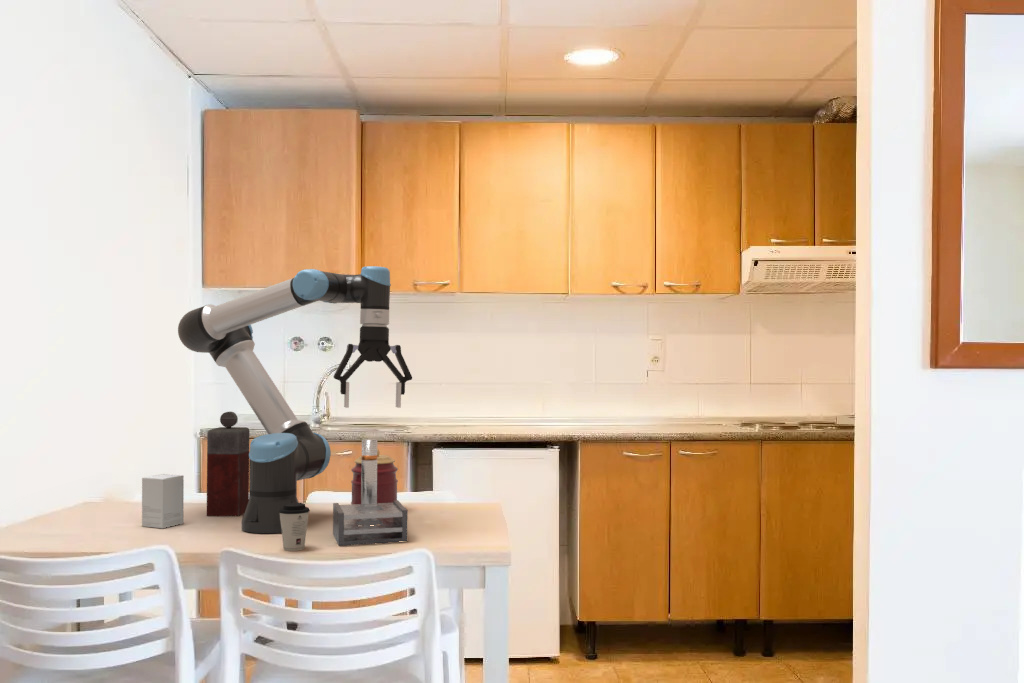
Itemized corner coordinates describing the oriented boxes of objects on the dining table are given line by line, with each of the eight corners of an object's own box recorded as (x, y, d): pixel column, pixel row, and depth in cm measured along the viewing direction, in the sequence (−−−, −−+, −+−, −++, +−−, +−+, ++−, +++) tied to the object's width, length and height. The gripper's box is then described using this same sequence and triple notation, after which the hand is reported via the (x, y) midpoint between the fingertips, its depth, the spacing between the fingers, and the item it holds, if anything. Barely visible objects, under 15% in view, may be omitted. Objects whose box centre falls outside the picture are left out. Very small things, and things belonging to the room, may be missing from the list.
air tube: (361, 526, 225) (362, 440, 225) (360, 523, 229) (360, 439, 229) (377, 525, 226) (378, 440, 226) (375, 522, 230) (376, 438, 230)
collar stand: (338, 545, 202) (338, 513, 203) (332, 533, 216) (333, 503, 216) (407, 542, 207) (407, 510, 207) (397, 530, 220) (397, 500, 221)
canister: (383, 505, 256) (383, 444, 256) (406, 512, 246) (406, 448, 246) (342, 510, 248) (343, 447, 248) (364, 517, 238) (365, 452, 238)
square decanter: (251, 508, 249) (252, 410, 249) (239, 516, 238) (239, 412, 238) (220, 508, 249) (221, 409, 249) (206, 516, 238) (207, 412, 238)
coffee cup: (307, 551, 196) (307, 507, 197) (275, 552, 196) (275, 507, 196) (311, 545, 203) (312, 501, 203) (281, 545, 203) (281, 502, 203)
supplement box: (184, 524, 227) (185, 475, 227) (162, 529, 220) (162, 478, 220) (163, 521, 230) (163, 473, 230) (140, 526, 223) (141, 476, 224)
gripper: (328, 324, 221) (326, 408, 221) (424, 327, 230) (422, 408, 230) (324, 324, 228) (322, 406, 228) (417, 327, 237) (415, 406, 237)
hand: (372, 407), depth 229 cm, fingers open, 13 cm apart
